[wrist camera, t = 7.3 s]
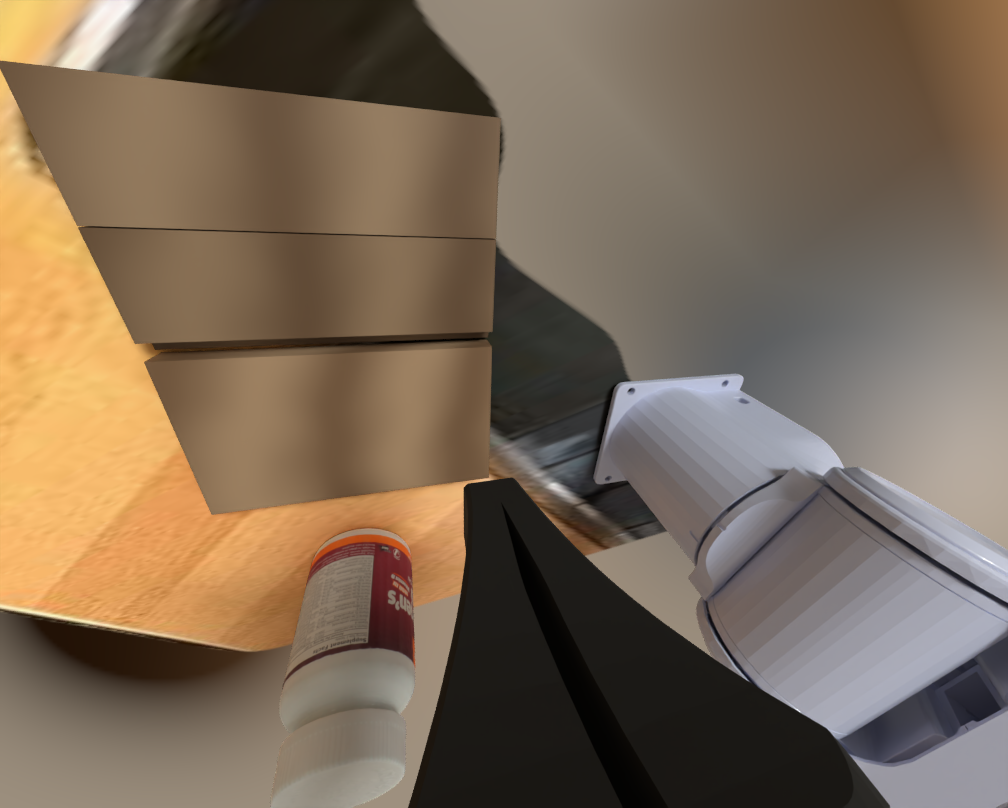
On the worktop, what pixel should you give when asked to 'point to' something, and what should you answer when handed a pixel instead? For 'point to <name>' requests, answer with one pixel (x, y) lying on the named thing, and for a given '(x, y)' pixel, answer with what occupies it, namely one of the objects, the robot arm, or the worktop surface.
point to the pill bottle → (348, 675)
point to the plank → (327, 419)
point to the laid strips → (271, 209)
